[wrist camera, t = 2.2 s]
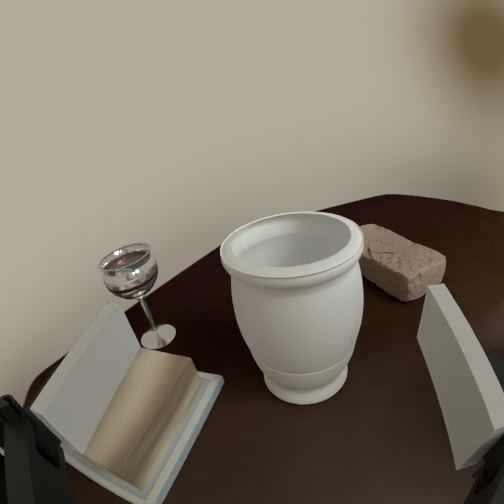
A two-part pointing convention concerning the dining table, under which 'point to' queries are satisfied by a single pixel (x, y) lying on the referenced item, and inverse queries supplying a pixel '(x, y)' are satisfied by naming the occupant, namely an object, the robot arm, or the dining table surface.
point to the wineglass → (136, 285)
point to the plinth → (143, 416)
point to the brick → (399, 263)
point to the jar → (298, 299)
